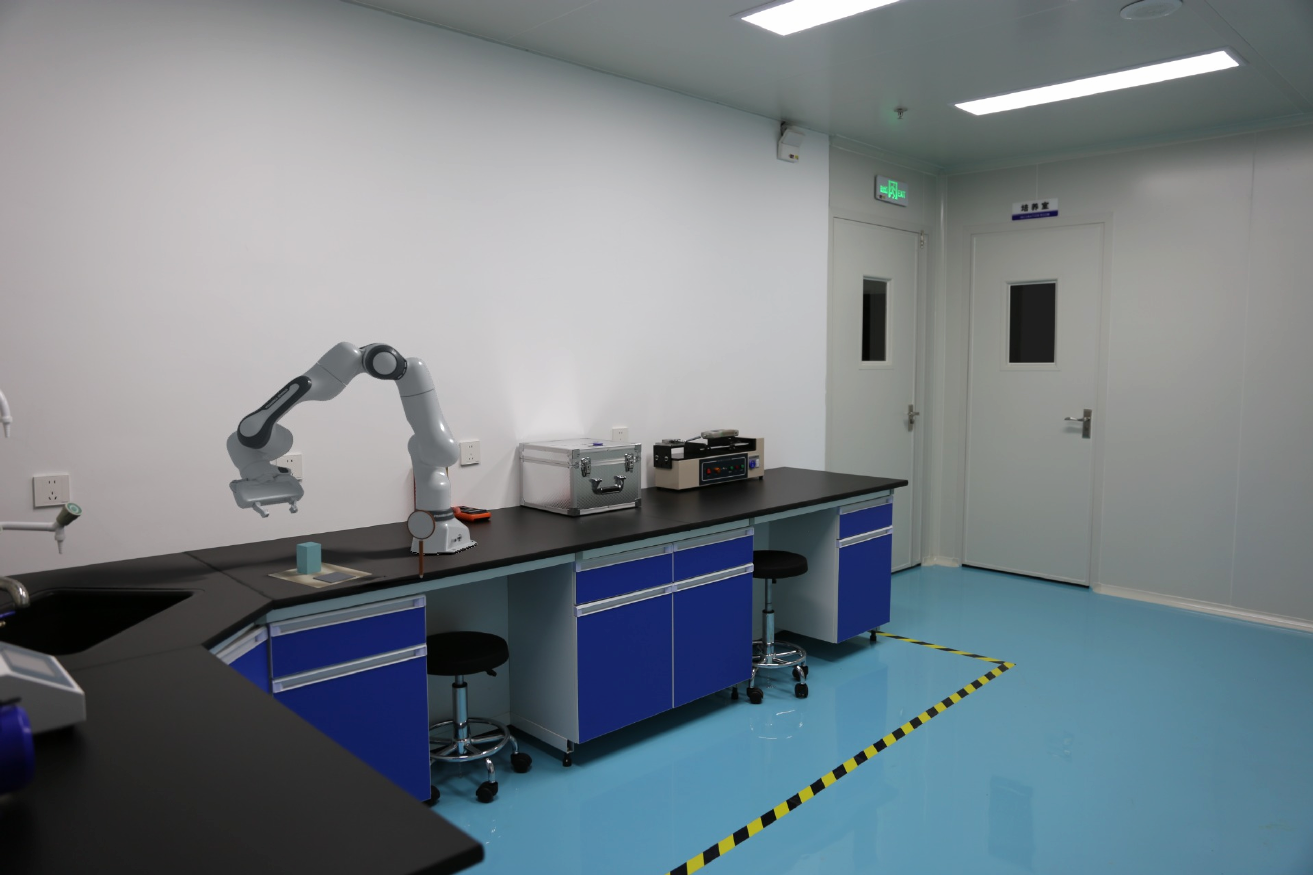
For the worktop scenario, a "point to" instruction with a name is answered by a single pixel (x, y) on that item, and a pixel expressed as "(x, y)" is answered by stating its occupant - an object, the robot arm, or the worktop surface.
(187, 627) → the worktop surface
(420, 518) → the magnifying glass
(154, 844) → the worktop surface
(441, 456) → the robot arm
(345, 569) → the post board
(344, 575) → the pad
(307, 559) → the teal pillar
